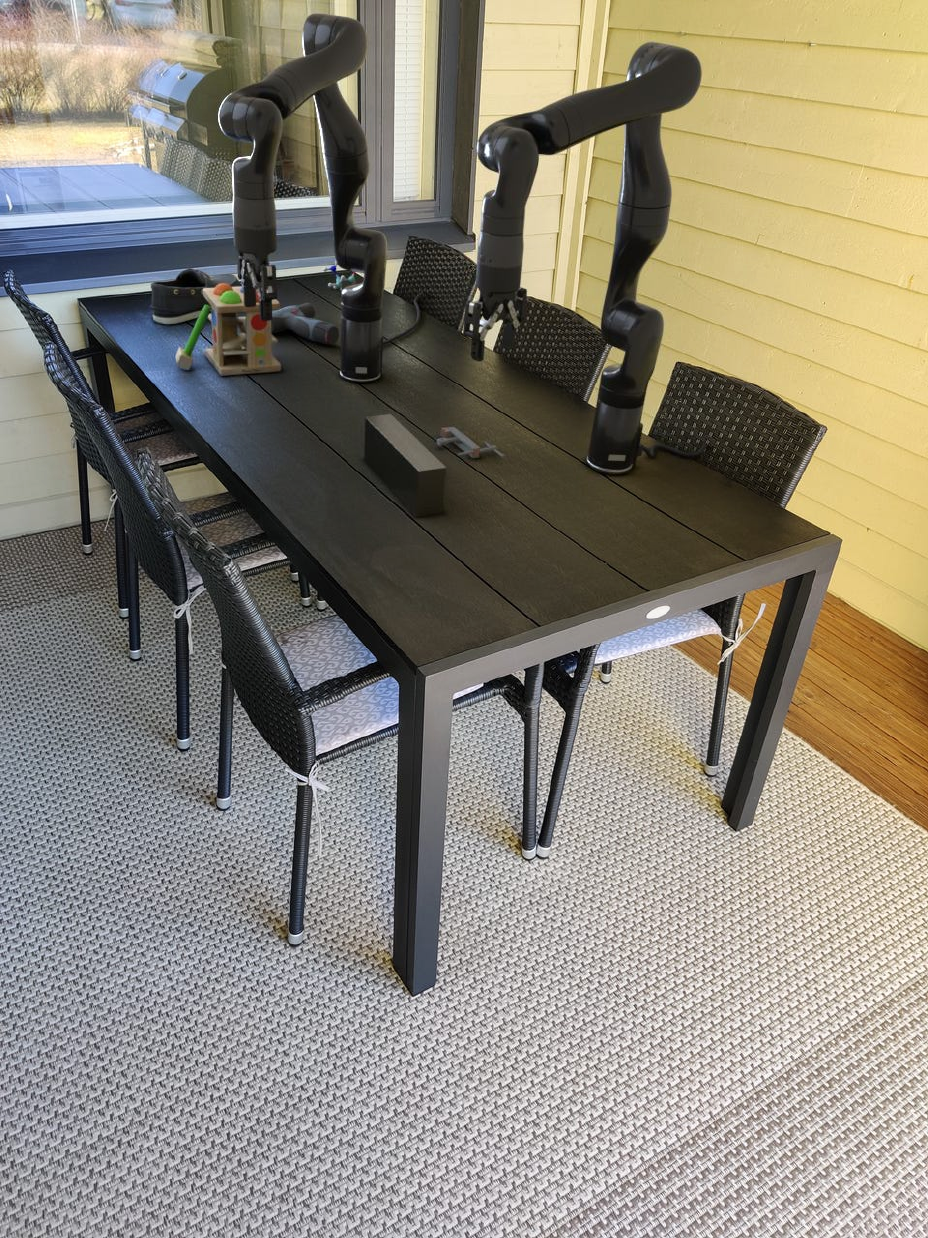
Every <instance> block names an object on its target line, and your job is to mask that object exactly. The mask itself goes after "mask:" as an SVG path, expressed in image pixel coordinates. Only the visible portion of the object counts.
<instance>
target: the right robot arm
mask: <svg viewBox="0 0 928 1238" xmlns="http://www.w3.org/2000/svg"><path fill="white" fill-rule="evenodd" d="M702 71H703V70H702V65H701V61H700V59H699V57H698V56H697V55H696V54H695V53H694V52H693V51H691V50H690V49H687V48H685V47H681V46H679V45H673V44H667V43H662V42H657V41H647V42H644V43H642V44H641V45H640V46H639V47H638V48H637V49H636V50H635V51H634V53H633V54H632V56H631V58H630V60H629V63H628V66H627V71H626V78H625V81H621V82H619V83H615V84H611V85H606V86H600V87H596V88H591V89H586V90H583V91H579V92H576V93H573V94H570V95H567V96H565V97H563V98H561V99H558V100H556V101H554V102H552V103H549V104H547V105H546V106H543V107H542V108H540V109H537V110H533V111H529V112H524V113H520V114H515V115H511V116H508V117H505V118H502V119H499V120H496V121H495V122H492V123H491V124H489V125H488V126H487V127H485V129H484V130H482V132H481V134H480V135H479V137H478V140H477V143H476V155H477V158H478V160H479V162H480V164H481V165H482V166H484V167H485V168H486V169H487V170H489V171H492V172H494V173H497V174H498V178H497V182H496V186H495V189H492V190H489V191H487V192H486V193H485V194H484V195H483V197H482V198H483V199H482V203H481V216H480V217H481V218H480V230H479V237H478V242H477V252H476V253H477V256H476V270H475V271H476V273H475V286H476V288H477V289H478V290H479V296H478V299H477V300H476V301H473V300H470V299H468V300H466V302H465V307H464V318H463V328H462V329H463V330H462V336H463V337H466V338H468V339H470V340H471V341H470V343H471V344H470V357H471V359H472V361H475V362H479V363H480V362H482V361H484V359H485V345H486V340H485V339H486V337H487V334H488V333H489V331H490V330H492V329H493V327H494V325H495V324H496V323H498V322H499V321H502V323H503V325H504V326H503V327H502V338H501V347H502V348H503V349H505V350H508V351H511V350H514V348H515V344H516V335H517V329H518V328H519V326H520V324H521V323H522V324H523V323H525V321H526V317H527V300H528V299H527V298H528V289H527V288H524V287H521V283H522V272H523V271H522V270H523V259H524V246H525V245H524V230H525V218H526V206H527V203H528V200H529V197H530V195H531V193H532V188H533V185H534V182H535V178H536V176H537V173H538V169H539V162H540V155H543V156H555V155H557V154H561V153H562V152H564V151H566V150H569V149H571V148H573V147H575V146H577V145H579V144H581V143H583V142H585V141H587V140H590V139H592V138H595V137H596V136H599V135H601V134H603V133H606V132H608V131H610V130H613V129H616V128H619V127H621V126H624V142H623V151H622V152H623V154H622V164H621V165H622V166H621V177H620V187H619V192H618V193H619V194H618V200H617V209H616V218H615V219H616V220H615V231H614V232H615V234H614V244H613V251H612V257H611V258H612V259H611V265H610V273H609V278H608V283H607V286H606V287H607V288H606V292H605V297H604V303H603V307H602V313H601V317H600V318H601V319H600V335H601V338H602V339H603V341H604V343H606V344H607V345H609V346H611V347H613V348H614V349H618V350H619V351H622V352H624V356H623V360H622V362H621V363H614V364H610V365H607V366H605V367H603V369H602V371H601V375H600V380H599V386H598V393H597V398H596V405H595V410H594V417H593V423H592V427H591V434H590V441H589V446H588V452H587V455H586V461H585V463H586V465H587V466H588V468H589V469H591V470H592V471H595V472H597V473H600V474H604V475H611V476H622V475H626V474H628V473H630V472H631V471H632V470H633V469H635V468H636V464H637V459H638V457H641V456H642V455H643V452H644V453H645V454H646V456H647V457H648V458H650V459H652V458H654V456H655V450H656V449H657V450H658V449H662V450H666V451H669V452H671V453H674V454H676V455H678V456H682V457H686V458H696V457H698V456H700V455H702V454H703V453H704V452H705V451H706V449H707V448H708V449H712V448H713V446H712V447H710V446H707V445H706V444H704V443H703V444H702V446H701V447H700V449H699V450H697V451H695V452H685V451H683V450H680V449H678V448H675V447H672V446H670V445H666V444H661V443H660V444H659V443H657V444H654V445H652V446H651V447H650V450H649V448H648V447H646V446H644V444H642V443H641V438H642V433H643V430H644V429H643V428H644V424H643V423H642V422H641V421H642V415H643V410H644V407H645V400H646V397H647V396H646V395H647V391H648V385H649V382H650V379H651V378H652V377H653V374H654V372H655V369H656V364H657V361H658V355H659V352H660V349H661V344H662V340H663V336H664V331H665V320H664V316H663V314H662V312H661V311H660V310H658V309H657V308H655V307H652V306H650V305H647V304H644V303H642V302H639V301H637V293H638V286H639V280H640V276H641V273H642V271H643V269H644V267H645V265H646V264H647V262H648V261H649V260H650V258H651V257H652V256H653V255H654V253H655V252H656V250H657V249H658V247H659V246H660V245H661V244H662V242H663V240H664V239H665V236H666V234H667V231H668V226H669V220H670V213H671V206H672V196H673V194H672V193H673V191H672V190H673V189H672V182H671V177H670V173H669V169H668V165H667V161H666V157H665V154H664V150H663V144H662V136H661V131H662V130H661V128H662V116H663V114H666V113H670V112H673V111H677V110H681V109H682V108H684V107H685V106H687V105H688V104H690V102H691V101H693V99H694V98H695V97H696V95H697V93H698V91H699V89H700V85H701V83H702V75H703V73H702ZM518 309H519V313H518ZM482 319H484V320H482ZM471 326H472V328H471ZM480 329H481V330H480Z"/></svg>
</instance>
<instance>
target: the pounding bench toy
mask: <svg viewBox="0 0 928 1238" xmlns="http://www.w3.org/2000/svg"><path fill="white" fill-rule="evenodd" d="M243 287H244V286H242V285H241V287H231V286H230V285H228V284H226V283H221V284H218V285H217V286H216V287H215V288H204V289H203V296H204V297H205V299H206V300H207V301H208V302H209V304H210V305H211V307H210V306H208V305H204V307H203V309H202V311H201V314H200V316H199V317H198V318H197V320H196V322H195V324H194V327H193V329H192V331H191V332H190V333H191V334H190V336H189V338H188V340H187V343H186V344H185V347H184V348H182V347H180V346H179V347H178V349H177V351H176V354H175V357H174V358H175V362H176V365H177V366H178V368H179V369H182V370H185V371H189V370H190V369H191V367H192V365H193V363H194V356H193V351H194V348H195V347H196V345H197V342H198V340H199V337H200V336H201V333H202V332H203V329H204V326H205V325H206V322H207V320H209V321H210V322H211V336H212V337H211V338H212V339H211V340H212V348H205V349H204V352H205V353H204V355H205V357H206V359H208V361H209V363H210V364H211V365H212V366H213V367H214V369H215V370H216V371H217V372H218V374H219V375H220V376H222V377H223V376H234V375H235V376H236V375H246V374H247V375H250V374H262V373H275V372H281V370H282V364H281V363H280V362H279V360H278V359H277V358H276V357H275V356H274V355H273V348H272V347H273V345H272V344H276V343H278V342H279V341H278V339H277V338H276V337H275V336H274V334H273V333H272V334H271V321H262V320H261V319H260V312H259V296H258V292H257V290H256V306H255V307H246V306H245V305H244V296H243ZM267 293H268V291H267ZM280 309H281V304H280V301H278V299H274V300H272V311H275V310H280ZM210 310H211V311H210ZM238 313H244V314H245V315H244V316H238ZM238 329H239V331H240V333H239V334H238Z"/></svg>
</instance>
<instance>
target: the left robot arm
mask: <svg viewBox="0 0 928 1238" xmlns="http://www.w3.org/2000/svg"><path fill="white" fill-rule="evenodd" d="M368 45H369V43H368V35H367V32H366V29H365V26H364V25H363V24H362V22H360V21H359V20H358V19H356V18H355V19H354V18H352V17H349V16H341V15H336V14H329V13H318V12H317V13H311V14H309V15H308V16H307V17H306V19H305V20H304V24H303V27H302V48H303V49H302V50H303V56H300V57H296V58H295V59H291V60H289V61H288V60H287V61H286V62H284V63H282V64H280V65H278V66H277V67H276V68H274V69H273V70H272V71H270V73H268V74H267V75H266V76H264V78H262V79H261V80H260V81H257V82H254V83H251V84H248V85H245V86H243V87H241V88H239V89H236V90H234V91H233V92H231V93H230V94H228V95H227V96H226V97H225V98H224V100H222V103H221V105H220V107H219V110H218V123H219V127H220V129H221V131H222V133H223V134H224V135H225V136H226V137H228V139H231V140H233V141H237V142H241V143H242V142H243V143H249V144H253V145H254V146H253V151H252V154H251V156H250V155H249V156H242V157H241V156H240V157H237V158H236V159H234V160H233V163H232V167H231V172H232V174H231V175H232V194H233V195H232V225H233V246H234V249H235V250H236V262H237V263H236V265H237V266H236V267H237V279H238V281H240V285H241V287H242V286H244V287H243V296H244V305H245V306H246V307H255V306H256V290H257V292H258V296H259V312H260V319H261V320H262V321H271V320H272V311H273V310H272V300H274V299H276V300H278V283H277V282H278V281H277V266H276V264H271V263H270V262H269V261H270V260H269V255H270V254H273V253H274V252H276V251H277V248H278V242H277V241H278V240H277V208H276V203H275V188H274V187H275V186H274V185H275V184H274V183H275V181H274V179H275V178H274V172H275V166H276V161H277V156H278V151H279V148H280V143H281V140H282V136H283V128H284V121H285V120H287V119H288V118H289V117H291V116H292V115H293V114H294V113H295V112H296V111H298V109H299V108H301V106H302V105H304V104H305V103H307V102H308V100H310V99H311V98H312V97H313V99H314V104H315V109H316V115H317V121H318V127H319V134H320V141H321V150H322V156H323V157H322V158H323V164H324V169H325V176H326V181H327V186H328V187H327V188H328V195H329V201H330V211H331V226H332V227H331V229H332V243H333V244H332V245H333V253H334V259H335V261H337V264H338V265H337V266H338V267H339V268H341V269H342V270H345V271H348V272H353V271H354V272H355V273H360V274H363V280H362V282H361V283H360V282H359V283H357V284H355V283H354V284H355V285H353V284H351V285H348V286H345V287H344V288H342V289H343V290H342V291H341V307H340V308H341V310H340V311H341V312H340V314H341V315H340V322H341V323H340V370H339V376H340V377H341V378H342V380H345V381H348V382H352V383H359V384H360V383H361V384H364V383H365V384H366V383H367V384H369V383H373V382H376V381H378V380H380V378H381V375H382V374H383V353H384V346H385V345H387V344H389V343H392V342H394V341H396V340H398V339H401V338H403V337H404V336H406V335H407V334H410V333H411V332H412V331H413V330H415V328H416V327H418V325H419V323H420V320H421V310H420V306H419V304H418V302H417V301H418V300H419V299H420V298H421V297H423V296H424V295H423V291H421V292H419V293H418V294H417V295H416V296H415V298H414V299H413V304H414V307H415V309H416V313H417V315H416V320H415V322H414V323H413V324H412V326H411V327H409V328H408V329H406V330H404V331H403V332H401V333H399V334H397V335H394V336H392V337H390V338H389V339H386V340H384V335H383V334H382V323H383V299H384V298H383V297H384V292H385V285H386V273H387V272H386V271H387V261H388V242H387V238H386V236H385V234H384V233H383V232H381V231H379V230H375V229H369V228H363V227H359V226H356V225H355V221H354V207H355V204H356V201H357V199H358V198H359V196H360V194H361V192H362V190H363V189H364V187H365V185H366V183H367V180H368V178H369V175H370V171H371V165H370V163H371V162H370V155H369V147H368V146H369V145H368V138H367V136H366V132H365V130H364V129H363V127H362V125H361V123H360V121H359V120H358V118H357V117H356V115H355V114H354V112H353V111H352V109H351V107H350V105H348V103H347V101H346V100H345V98H344V96H343V94H342V92H341V89H340V86H339V84H338V82H340V81H342V80H343V79H345V78H348V77H350V76H352V75H353V74H355V73H357V72H358V71H359V70H360V69H361V68H362V66H364V63H365V61H366V58H367V54H368ZM267 291H268V293H267ZM425 295H426V296H427V297H429V296H431V295H430V293H429V294H425Z"/></svg>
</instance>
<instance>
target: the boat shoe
mask: <svg viewBox="0 0 928 1238" xmlns="http://www.w3.org/2000/svg"><path fill="white" fill-rule="evenodd" d="M221 283H226V284H228V285H230V286H231V287H242V285H241V281H240V280H239V279H238V276H236V275H235V274H232V273H224V274H217V275H214V276H209V275H208V274H207V273H206V272H204V271H203V270H199V269H194V268H186V269H183V270H182V271H181V272H179V273H178V274H177V276H176V277H175V279H173V280H172V279H171V280H165V281H161V280H159V281H153V282H151V283H150V289H151V304H150V308H151V309H152V310H153V312H152V318H153V321H154V322H157V323H158V324H164V325H175V324H180V323H183V322H187V321H190V320H195V319H198V318H199V316H200V314H201V311H202V309H203V307H204V305H208V306H210V307H211V305H210V304H209V302H208V301H207V300H206V299H205V297H204V296H203V289H204V288H215V287H216V286H217V285H218V284H221ZM210 312H211V310H210Z"/></svg>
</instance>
